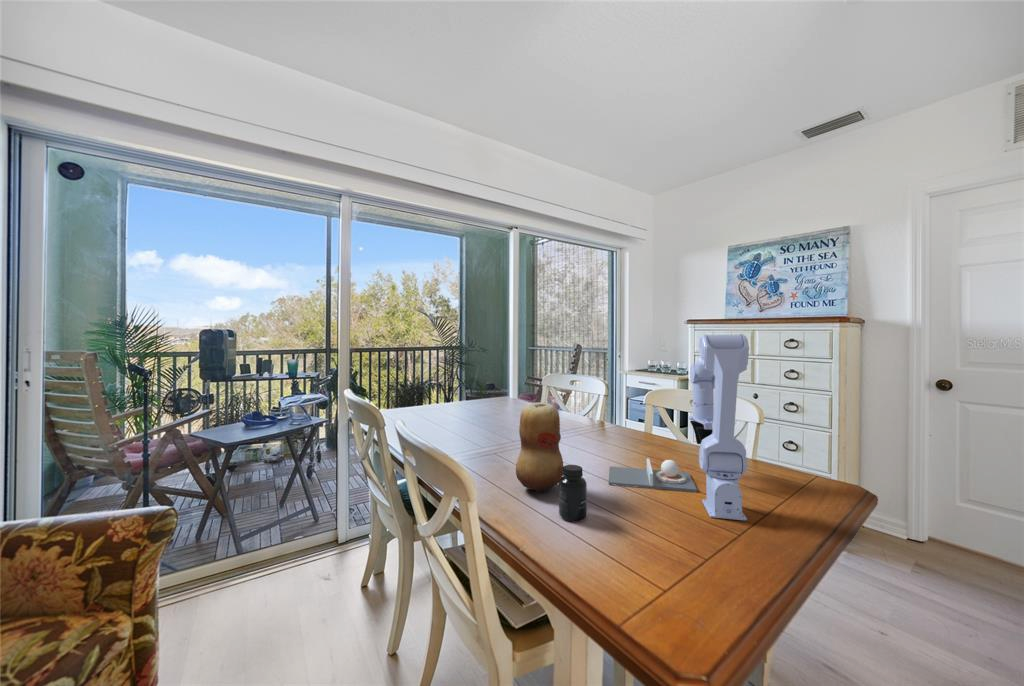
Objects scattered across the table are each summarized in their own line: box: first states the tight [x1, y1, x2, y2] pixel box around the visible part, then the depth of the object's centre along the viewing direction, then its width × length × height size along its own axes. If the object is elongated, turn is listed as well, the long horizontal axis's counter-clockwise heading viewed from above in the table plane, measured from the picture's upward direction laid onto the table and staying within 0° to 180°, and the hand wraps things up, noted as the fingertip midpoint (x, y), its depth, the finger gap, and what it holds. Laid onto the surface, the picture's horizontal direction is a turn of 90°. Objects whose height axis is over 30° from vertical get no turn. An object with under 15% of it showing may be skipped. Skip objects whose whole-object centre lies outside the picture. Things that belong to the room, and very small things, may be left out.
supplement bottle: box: [558, 464, 588, 523], centre depth 94 cm, size 7×7×12 cm
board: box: [608, 458, 698, 493], centre depth 117 cm, size 14×24×4 cm, turn 74°
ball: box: [660, 459, 680, 477], centre depth 117 cm, size 5×5×5 cm
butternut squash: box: [515, 401, 564, 492], centre depth 111 cm, size 14×13×25 cm
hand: (703, 447), depth 117 cm, fingers open, 7 cm apart
